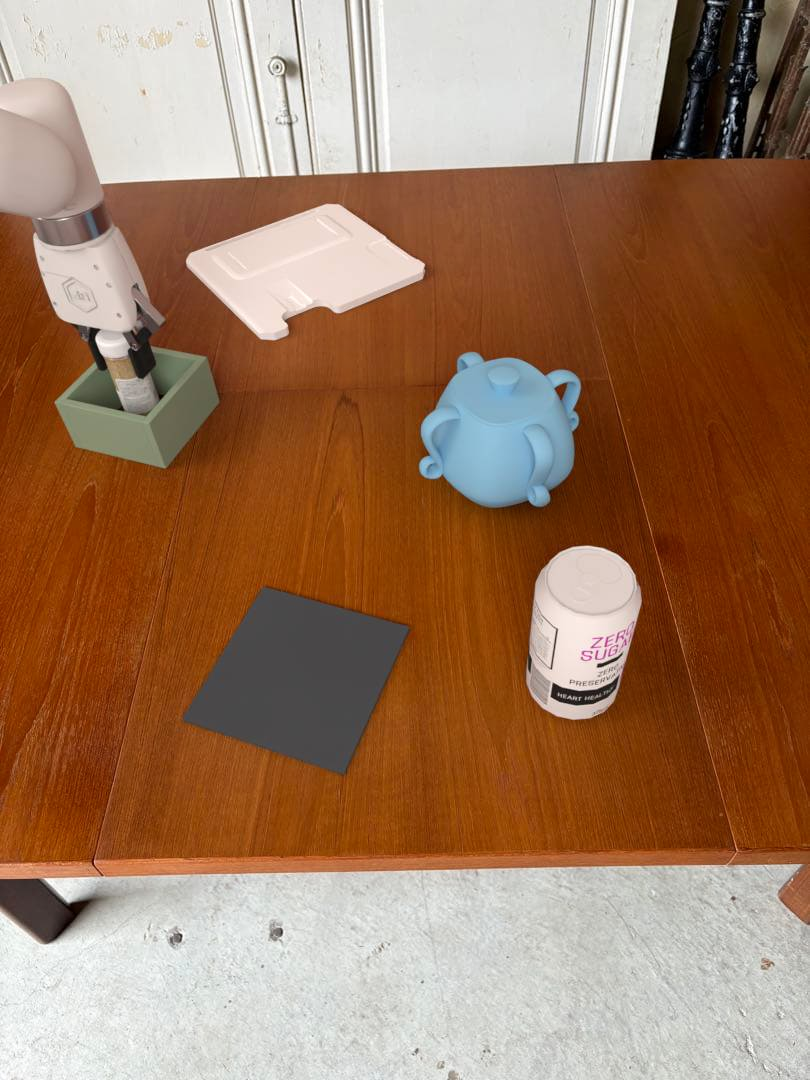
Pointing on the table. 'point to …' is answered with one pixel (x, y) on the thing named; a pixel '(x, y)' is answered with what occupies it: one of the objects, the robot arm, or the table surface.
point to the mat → (299, 679)
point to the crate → (136, 436)
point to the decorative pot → (502, 431)
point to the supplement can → (581, 631)
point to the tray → (303, 268)
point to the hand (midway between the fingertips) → (127, 366)
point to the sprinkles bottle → (126, 374)
